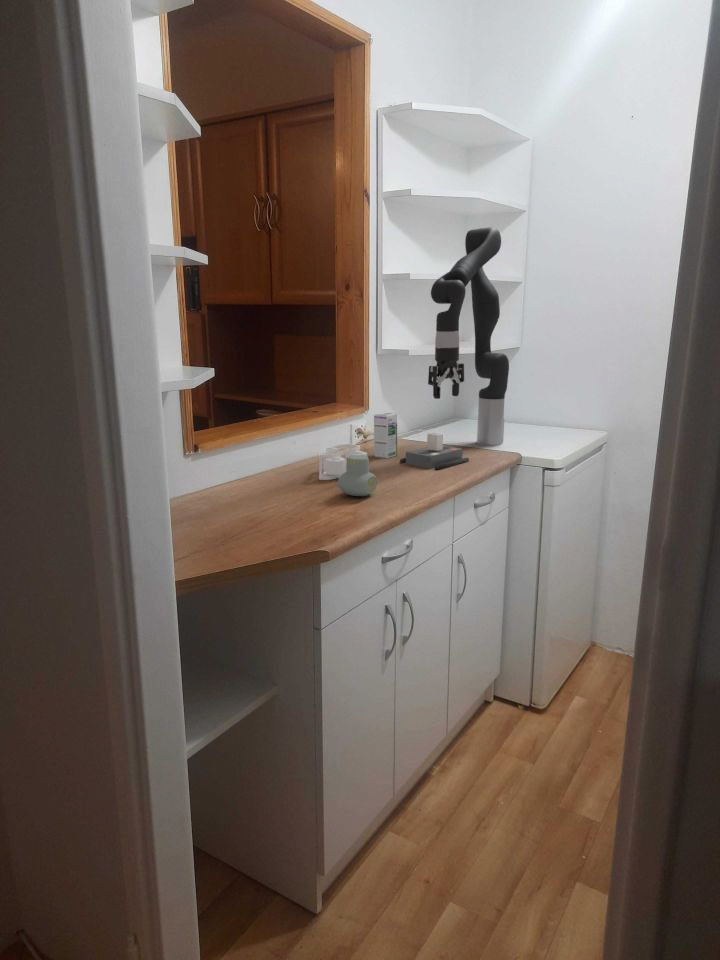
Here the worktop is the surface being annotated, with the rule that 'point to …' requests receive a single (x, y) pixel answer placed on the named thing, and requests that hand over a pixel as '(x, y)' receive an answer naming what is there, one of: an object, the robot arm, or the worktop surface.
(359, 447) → the skeletal toy car
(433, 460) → the breaker panel
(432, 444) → the handle
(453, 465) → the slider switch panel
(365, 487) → the air freshener
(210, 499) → the worktop surface
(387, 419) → the syrup box
